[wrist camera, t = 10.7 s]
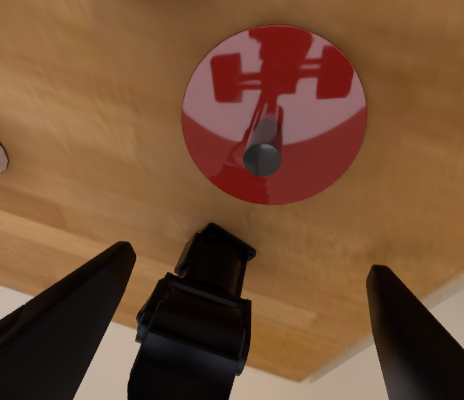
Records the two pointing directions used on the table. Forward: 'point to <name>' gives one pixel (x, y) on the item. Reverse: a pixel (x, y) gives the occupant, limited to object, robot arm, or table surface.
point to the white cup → (3, 160)
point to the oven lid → (274, 114)
